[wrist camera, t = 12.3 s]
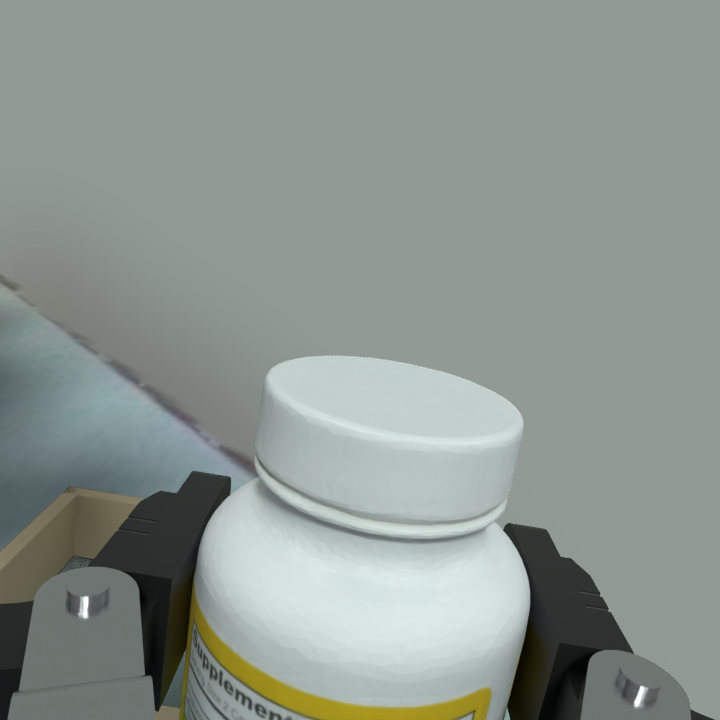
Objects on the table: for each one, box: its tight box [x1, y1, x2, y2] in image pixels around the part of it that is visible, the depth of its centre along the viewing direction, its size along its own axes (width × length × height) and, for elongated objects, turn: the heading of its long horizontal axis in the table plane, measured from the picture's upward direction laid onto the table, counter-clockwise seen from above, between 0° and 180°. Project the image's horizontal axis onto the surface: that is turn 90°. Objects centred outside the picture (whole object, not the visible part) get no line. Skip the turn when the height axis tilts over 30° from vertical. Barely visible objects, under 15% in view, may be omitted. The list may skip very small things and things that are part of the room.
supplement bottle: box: [179, 356, 530, 720], centre depth 11 cm, size 5×5×10 cm
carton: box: [0, 486, 180, 720], centre depth 20 cm, size 17×11×3 cm
